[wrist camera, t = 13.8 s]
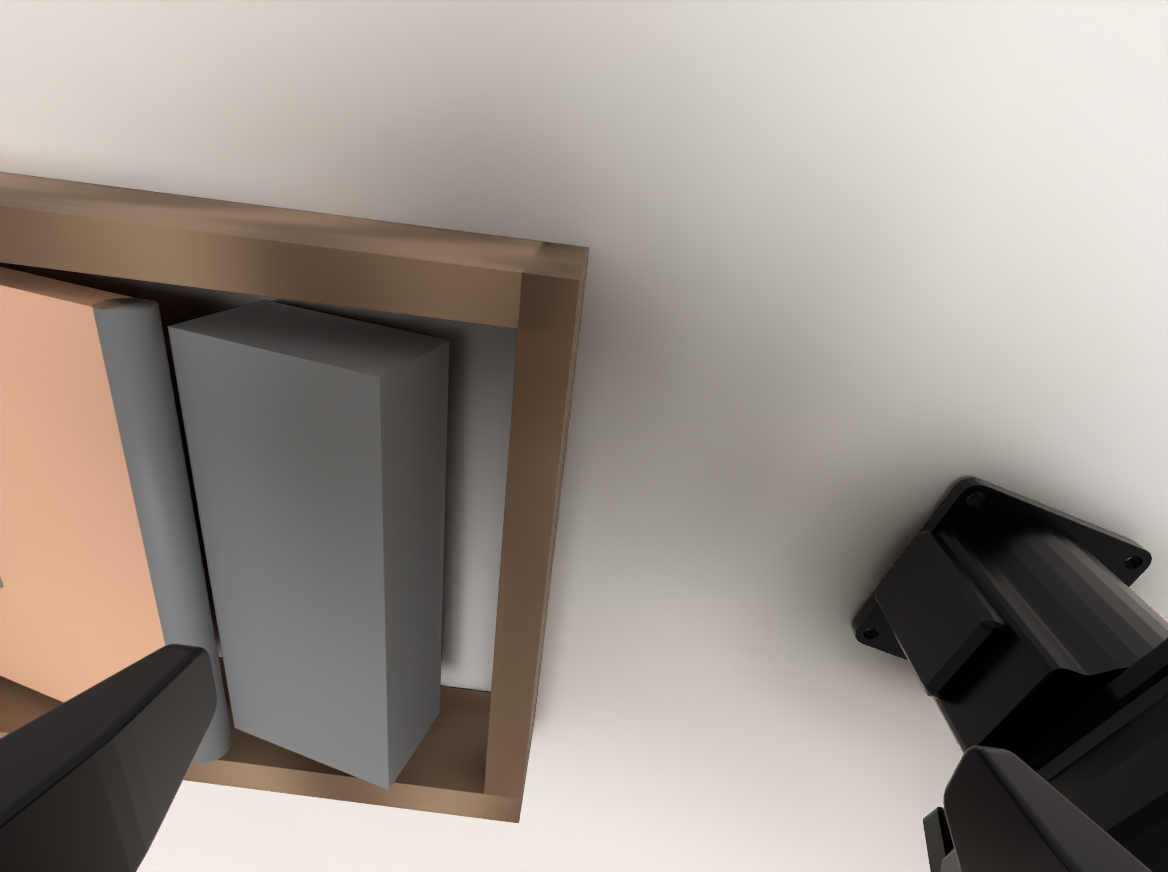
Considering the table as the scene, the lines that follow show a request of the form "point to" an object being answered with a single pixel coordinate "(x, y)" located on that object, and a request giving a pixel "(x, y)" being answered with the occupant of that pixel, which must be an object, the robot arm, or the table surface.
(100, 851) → the robot arm
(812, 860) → the table surface
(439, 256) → the flap frame
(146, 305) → the flap
